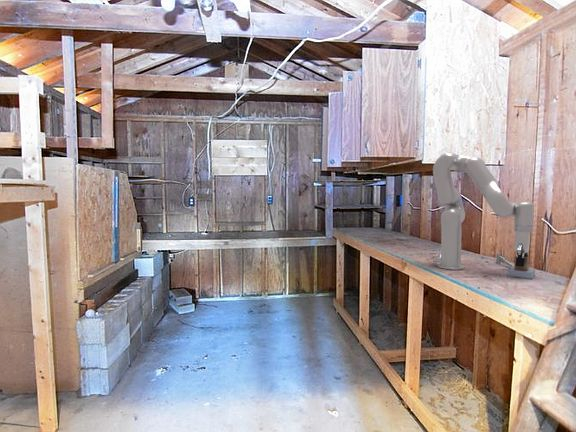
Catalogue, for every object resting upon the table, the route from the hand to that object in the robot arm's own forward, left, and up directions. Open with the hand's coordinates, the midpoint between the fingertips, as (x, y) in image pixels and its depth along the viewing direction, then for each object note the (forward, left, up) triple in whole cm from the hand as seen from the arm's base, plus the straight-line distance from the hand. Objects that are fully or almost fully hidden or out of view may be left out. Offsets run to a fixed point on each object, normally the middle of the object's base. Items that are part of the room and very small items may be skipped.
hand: (521, 264), depth 164 cm
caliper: (-9, +18, -6) cm, 21 cm away
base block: (0, 0, -6) cm, 6 cm away
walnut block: (0, 0, -2) cm, 2 cm away
